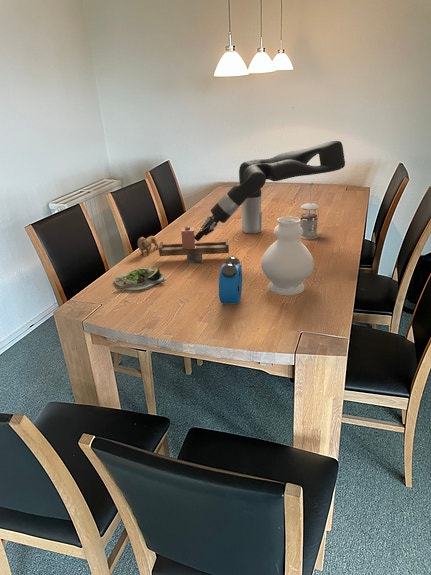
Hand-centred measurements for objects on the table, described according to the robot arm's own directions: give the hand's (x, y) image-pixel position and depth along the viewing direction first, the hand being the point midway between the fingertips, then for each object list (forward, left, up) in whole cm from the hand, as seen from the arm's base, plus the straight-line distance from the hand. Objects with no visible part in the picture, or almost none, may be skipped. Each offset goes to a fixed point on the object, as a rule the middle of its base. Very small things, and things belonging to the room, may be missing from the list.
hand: (196, 239), depth 176 cm
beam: (+1, 0, -9) cm, 9 cm away
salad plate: (+21, +18, -10) cm, 29 cm away
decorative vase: (-32, +29, -10) cm, 44 cm away
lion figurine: (+21, -11, -10) cm, 26 cm away
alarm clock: (-12, +38, -10) cm, 41 cm away
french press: (-52, -25, -10) cm, 59 cm away
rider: (+3, 0, -4) cm, 5 cm away
